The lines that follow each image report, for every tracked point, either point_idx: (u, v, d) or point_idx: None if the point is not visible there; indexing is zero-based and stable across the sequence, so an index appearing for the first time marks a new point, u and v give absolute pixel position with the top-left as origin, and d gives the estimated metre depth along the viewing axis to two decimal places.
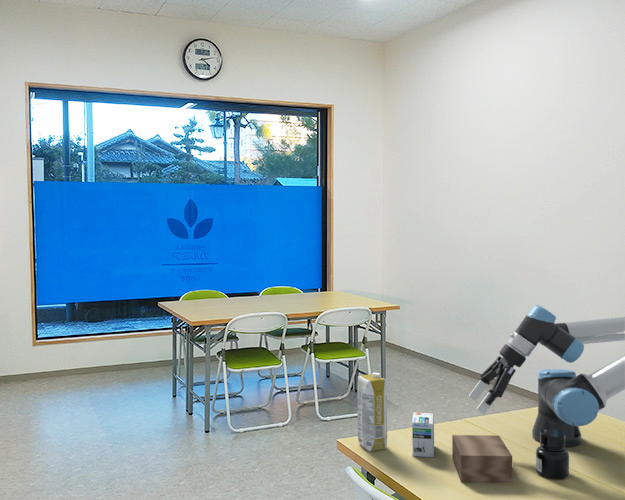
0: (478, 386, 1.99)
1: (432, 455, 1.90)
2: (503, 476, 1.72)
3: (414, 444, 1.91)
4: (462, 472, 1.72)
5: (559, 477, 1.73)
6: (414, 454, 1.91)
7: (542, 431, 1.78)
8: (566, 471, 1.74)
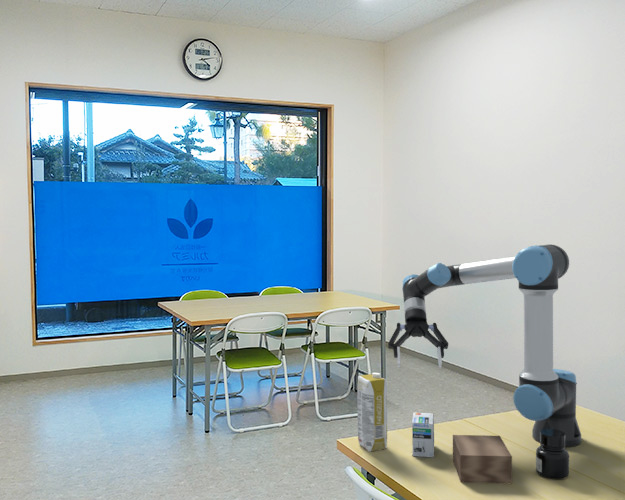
0: None
1: (432, 455, 1.90)
2: (502, 476, 1.71)
3: (414, 444, 1.91)
4: (461, 472, 1.72)
5: (559, 477, 1.73)
6: (414, 454, 1.91)
7: (542, 431, 1.78)
8: (566, 471, 1.74)
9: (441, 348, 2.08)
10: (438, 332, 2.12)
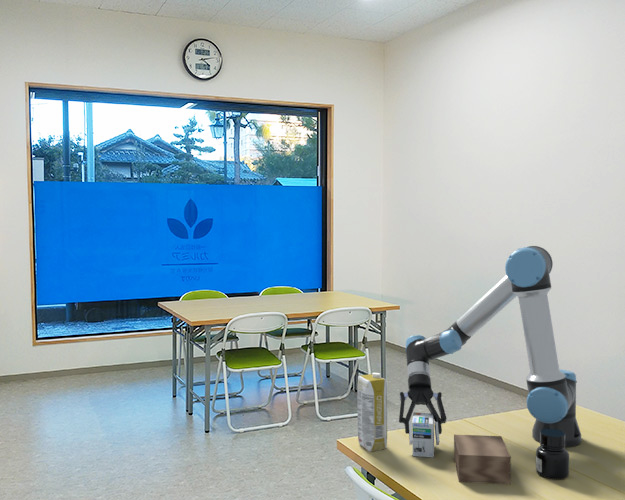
0: (435, 430, 1.96)
1: (432, 455, 1.90)
2: (501, 477, 1.71)
3: (414, 444, 1.91)
4: (460, 471, 1.73)
5: (559, 477, 1.73)
6: (414, 454, 1.91)
7: (542, 431, 1.78)
8: (566, 471, 1.74)
9: (439, 423, 1.96)
10: (440, 403, 2.00)
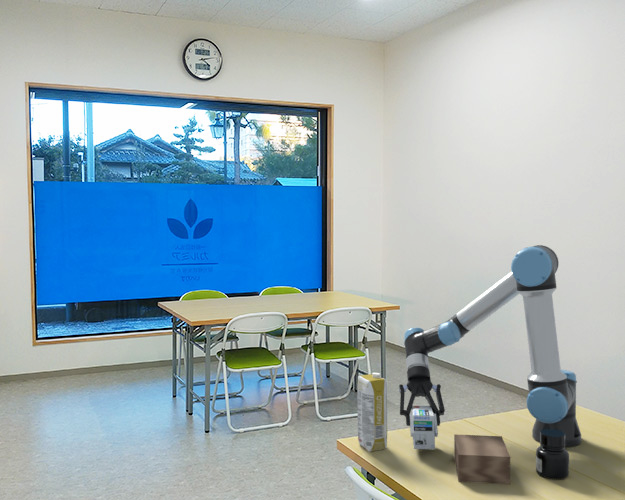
0: None
1: (433, 447, 1.90)
2: (501, 477, 1.71)
3: (415, 437, 1.91)
4: (459, 471, 1.73)
5: (559, 477, 1.73)
6: (415, 447, 1.91)
7: (542, 431, 1.78)
8: (566, 471, 1.74)
9: (437, 415, 1.95)
10: (439, 395, 1.99)
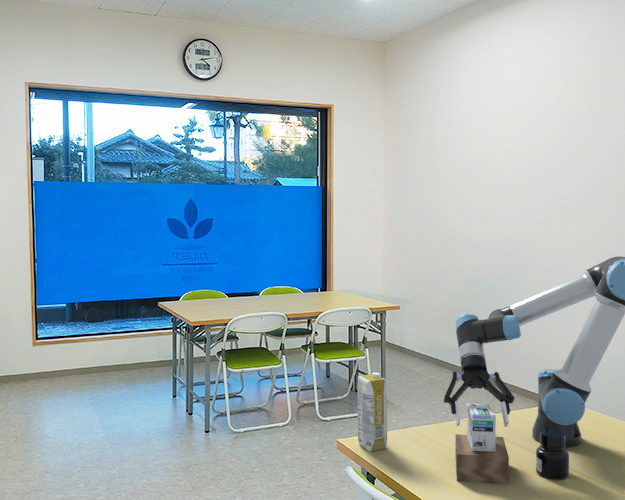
0: (502, 411, 1.80)
1: (494, 449, 1.74)
2: (499, 477, 1.71)
3: (474, 438, 1.74)
4: (458, 471, 1.73)
5: (559, 477, 1.73)
6: (474, 449, 1.75)
7: (542, 431, 1.78)
8: (566, 471, 1.74)
9: (506, 403, 1.80)
10: (501, 383, 1.84)
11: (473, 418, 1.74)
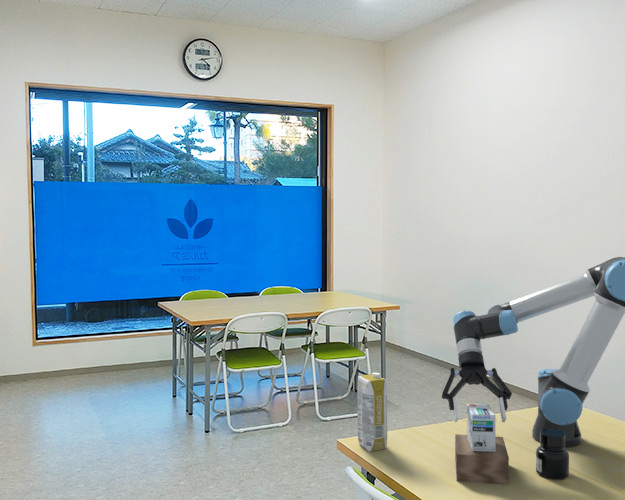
0: (499, 406, 1.81)
1: (494, 449, 1.74)
2: (499, 477, 1.71)
3: (474, 438, 1.74)
4: (458, 471, 1.73)
5: (559, 477, 1.73)
6: (474, 449, 1.75)
7: (542, 431, 1.78)
8: (566, 471, 1.74)
9: (504, 399, 1.81)
10: (499, 379, 1.85)
11: (473, 418, 1.74)
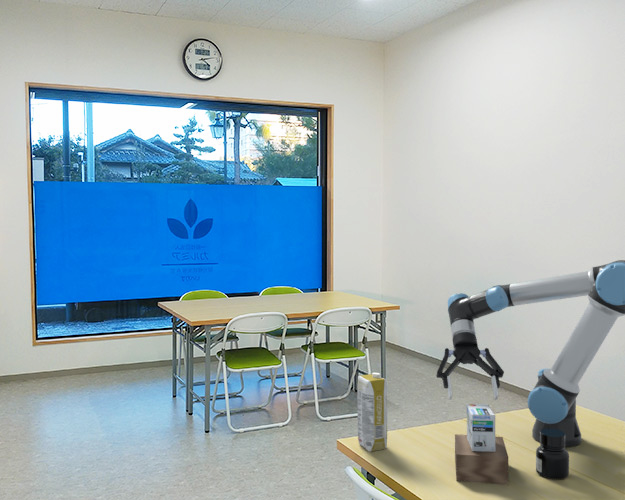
0: (492, 385, 1.88)
1: (494, 449, 1.74)
2: (499, 477, 1.71)
3: (474, 438, 1.74)
4: (457, 471, 1.73)
5: (559, 477, 1.73)
6: (474, 449, 1.75)
7: (542, 431, 1.78)
8: (566, 471, 1.74)
9: (496, 377, 1.88)
10: (491, 359, 1.92)
11: (473, 418, 1.74)
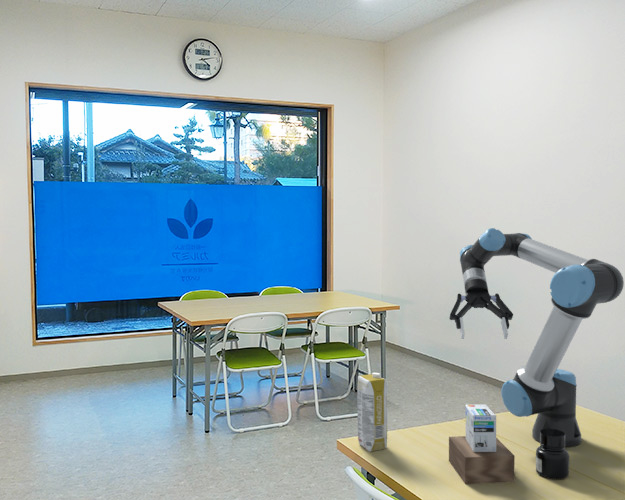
0: (502, 326, 2.00)
1: (495, 449, 1.74)
2: (505, 476, 1.72)
3: (475, 439, 1.74)
4: (466, 474, 1.71)
5: (559, 477, 1.73)
6: (475, 450, 1.74)
7: (542, 431, 1.78)
8: (566, 471, 1.74)
9: (506, 319, 2.00)
10: (501, 303, 2.04)
11: (474, 419, 1.74)
